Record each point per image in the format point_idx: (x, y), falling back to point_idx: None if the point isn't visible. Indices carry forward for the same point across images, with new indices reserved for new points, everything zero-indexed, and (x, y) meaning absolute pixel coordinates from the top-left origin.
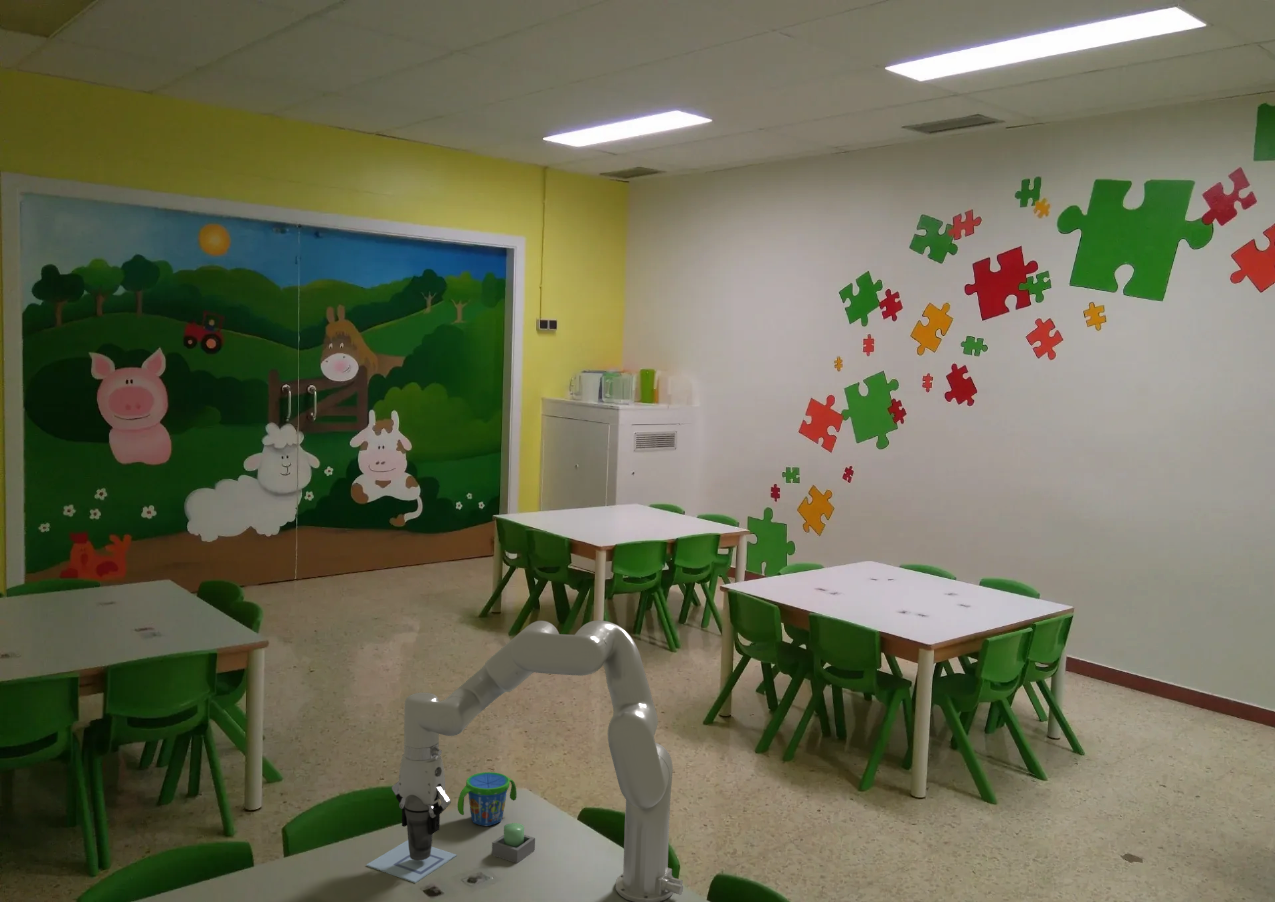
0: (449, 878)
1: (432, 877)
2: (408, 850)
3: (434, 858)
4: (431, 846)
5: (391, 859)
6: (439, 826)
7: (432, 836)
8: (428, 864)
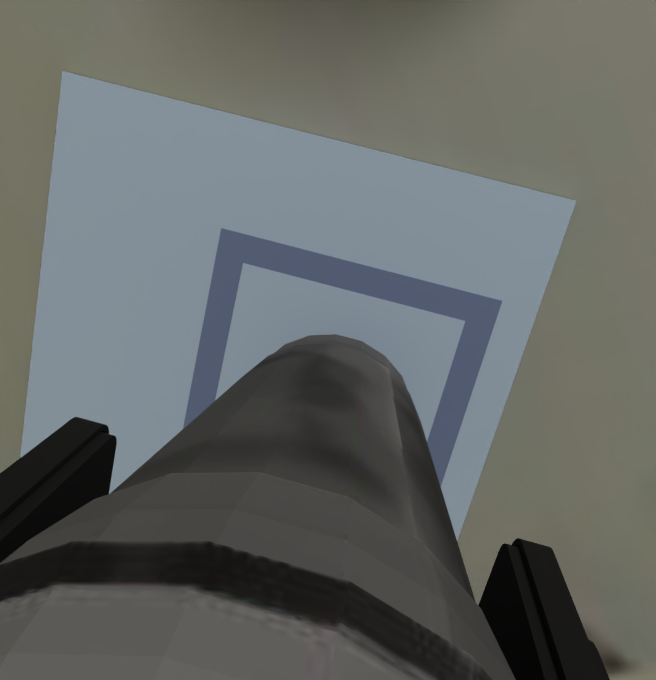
0: (631, 522)
1: (505, 537)
2: (163, 259)
3: (418, 319)
4: (416, 412)
5: (123, 416)
6: (593, 643)
7: (425, 446)
8: None
